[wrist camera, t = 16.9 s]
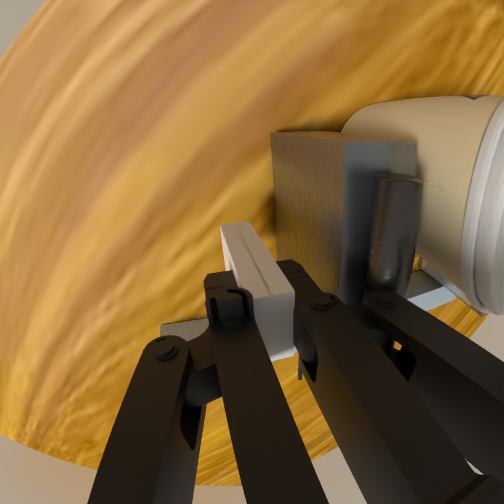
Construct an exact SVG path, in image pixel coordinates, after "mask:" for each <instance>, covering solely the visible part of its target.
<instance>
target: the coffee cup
mask: <svg viewBox="0 0 504 504" xmlns="http://www.w3.org/2000/svg"><path fill="white" fill-rule="evenodd" d="M341 133H349V134H358V135H366V136H373V137H380V138H387V139H393V140H399V141H405V142H411V143H416V144H417V148H416V176H415V177H418V178H421V179H422V180H423V181H424V184H423V196H422V207H421V216H420V224H419V231H418V238H417V245H416V251H415V252H416V253H417V254H418V255H419V256H420V257H422V258H423V259H424V260H425V261H426V262H428V263H429V264H430V265H431V266H433V267H434V268H435V269H436V270H437V271H439V272H440V273H441V274H442V275H443V276H445V277H446V278H447V279H448V280H449V281H451V282H452V283H453V284H454V285H455V286H456V287H458V288H459V289H460V290H461V291H462V292H463V293H464V294H465V295H466V297H467V299H468V301H469V302H470V303H471V304H472V305H473V306H474V307H475V308H476V309H478V310H479V311H481V312H483V313H493V314H496V315H504V97H503V96H488V95H465V96H438V97H424V98H413V99H404V100H395V101H387V102H382V103H376V104H372V105H368V106H366V107H364V108H362V109H360V110H358V111H357V112H356V113H355V114H354V115H352V116H351V117H350V119H349V120H348V121H347V122H346V124H345V125H344V127H343V129H342V131H341Z"/></svg>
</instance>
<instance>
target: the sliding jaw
mask: <svg viewBox="0 0 504 504" xmlns="http://www.w3.org/2000/svg"><path fill="white" fill-rule="evenodd" d="M270 136H271V150H272V165H273V181H274V198H275V216H276V235H277V256H278V261H282V260H288V259H292V260H294V261H296V262H298V263H300V264H301V266H302V267H303V268H304V269H305V271H306V272H307V273H308V274H309V277H311V278H312V279H313V281H314V282H315V283H316V284H317V286H318V287H319V288H320V289H321V291H322V292H326V293H331V294H333V295H336V296H337V297H338V298H340V299H341V300H342V302H343V303H344V304H350V305H351V304H365V303H366V298H367V296H368V295H369V294H370V293H371V292H374V291H377V290H387V291H392V292H394V293H397V294H399V295H400V296H402V297H404V298H405V299H406V297H407V292H408V288H409V283H410V278H411V273H412V268H413V263H414V257H415V251H416V245H417V238H418V231H419V224H420V216H421V207H422V196H423V184H424V181H423V180H422V179H421V178H418V177H415V176H416V148H417V144H416V143H411V142H405V141H399V140H393V139H387V138H380V137H373V136H366V135H358V134H349V133H340V132H329V131H295V132H275V133H270Z"/></svg>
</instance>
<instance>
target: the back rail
mask: <svg viewBox="0 0 504 504" xmlns="http://www.w3.org/2000/svg"><path fill="white" fill-rule="evenodd" d="M406 299H407V300H408V301H410V302H412V303H413V304H415V305H417V306H418V307H420V308H421V309H423V310H425V311H428V310H431V309H433V308H436V307H438V306H440V305H443V304H445V303H448V302H450V301H452V300H454V299H455V295H454V294H453V293H452V292H451V291H449V290H448V289H447V288H445V287H444V286H443V285H442V284H440V283H439V282H438V281H436V280H435V279H434V278H432V277H431V276H430V275H429V274H427V273H426V272H425V271H423V270H420V271H417V272H413V273H411V278H410V283H409V288H408V292H407V297H406ZM208 325H209V320H208V318H204V319H198V320H192V321H185V322H179V323H172V324H165V325H161V330H160V337H161V336H166V335H175V336H179V337H181V338H183V339H185V340H186V342H187V341H189V340H192V339H194V338H196V337H198V336H200V335H201V334H202V333H203V332H204V331H205V330H206V329H207V328H208ZM296 352H298V351H297V349H296V347H295V345H294V353H296Z"/></svg>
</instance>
